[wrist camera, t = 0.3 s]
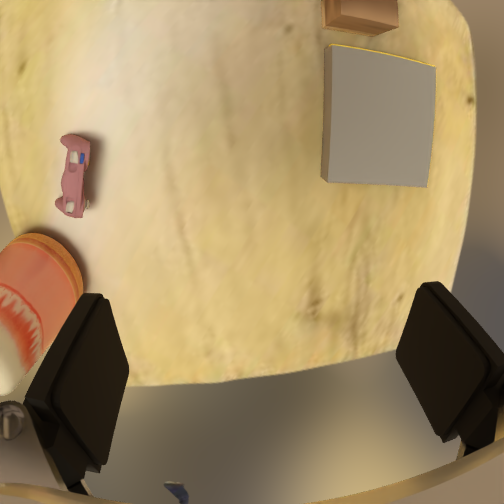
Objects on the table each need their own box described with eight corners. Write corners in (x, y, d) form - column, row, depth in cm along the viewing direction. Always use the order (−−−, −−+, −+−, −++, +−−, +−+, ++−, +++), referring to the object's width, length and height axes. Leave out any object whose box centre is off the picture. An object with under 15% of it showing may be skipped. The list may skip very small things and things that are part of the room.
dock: (324, 47, 30) (332, 43, 28) (424, 67, 31) (437, 66, 29) (320, 176, 37) (327, 182, 35) (416, 181, 38) (428, 187, 36)
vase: (44, 317, 44) (-31, 459, 18) (0, 245, 38) (-115, 369, 11) (106, 296, 43) (30, 476, 16) (58, 210, 37) (-90, 359, 10)
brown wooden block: (320, -16, 26) (338, -37, 20) (369, -7, 27) (394, -22, 21) (321, 28, 29) (341, 14, 23) (371, 36, 30) (398, 27, 23)
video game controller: (86, 205, 38) (89, 226, 33) (55, 204, 36) (52, 226, 31) (95, 133, 34) (98, 142, 29) (61, 131, 32) (58, 141, 27)
